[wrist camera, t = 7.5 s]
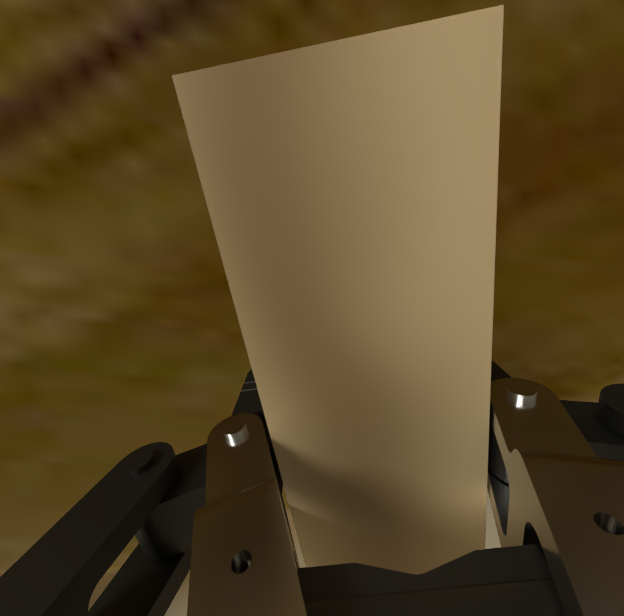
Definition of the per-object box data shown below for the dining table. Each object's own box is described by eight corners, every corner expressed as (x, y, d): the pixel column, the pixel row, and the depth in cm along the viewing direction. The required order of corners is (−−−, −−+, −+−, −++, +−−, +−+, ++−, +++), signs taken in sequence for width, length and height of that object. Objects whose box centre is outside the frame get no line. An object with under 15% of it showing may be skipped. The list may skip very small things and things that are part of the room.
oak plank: (399, 113, 9) (503, 4, 4) (422, 491, 14) (481, 646, 9) (247, 143, 9) (171, 76, 4) (324, 503, 14) (331, 659, 9)
